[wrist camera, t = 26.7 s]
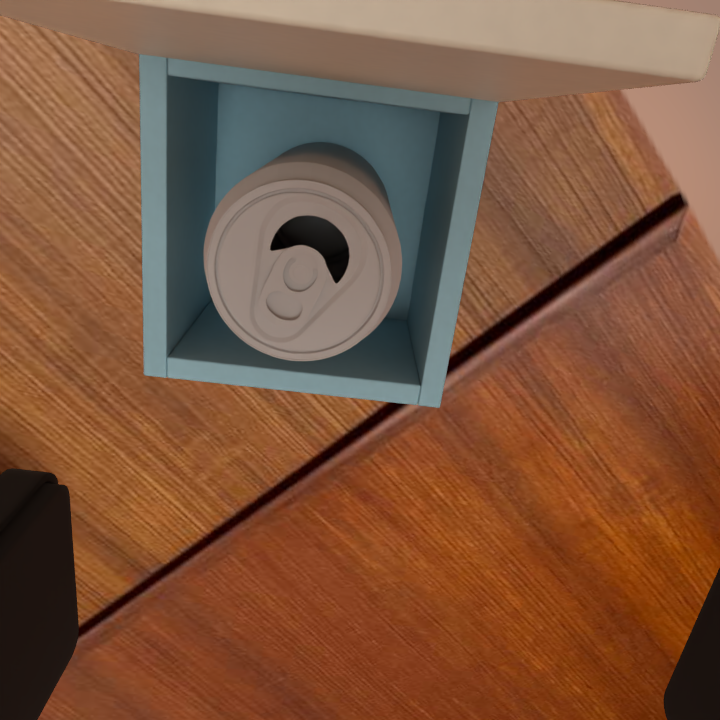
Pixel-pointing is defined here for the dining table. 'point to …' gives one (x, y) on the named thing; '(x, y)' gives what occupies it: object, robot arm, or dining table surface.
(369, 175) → the beverage can
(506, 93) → the lid
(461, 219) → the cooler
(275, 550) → the dining table surface
